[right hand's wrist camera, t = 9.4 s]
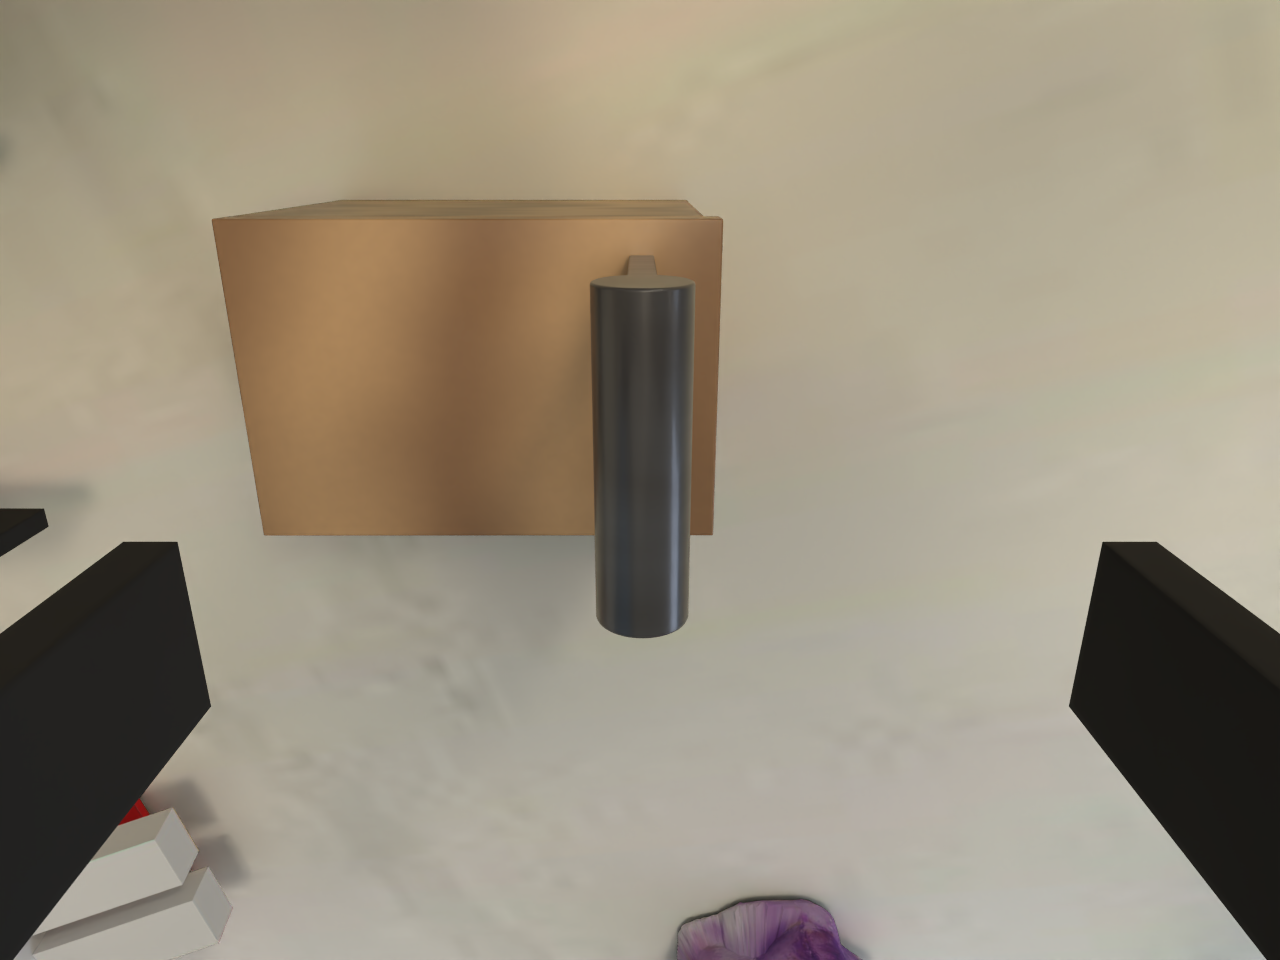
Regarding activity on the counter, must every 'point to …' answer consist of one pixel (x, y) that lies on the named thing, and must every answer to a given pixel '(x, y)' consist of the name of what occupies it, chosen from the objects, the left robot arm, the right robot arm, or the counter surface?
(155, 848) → the toy
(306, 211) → the chest
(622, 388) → the lid
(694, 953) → the figurine
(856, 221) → the counter surface
